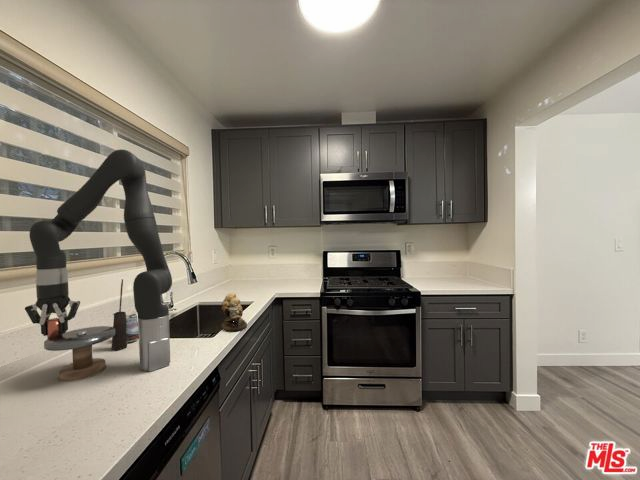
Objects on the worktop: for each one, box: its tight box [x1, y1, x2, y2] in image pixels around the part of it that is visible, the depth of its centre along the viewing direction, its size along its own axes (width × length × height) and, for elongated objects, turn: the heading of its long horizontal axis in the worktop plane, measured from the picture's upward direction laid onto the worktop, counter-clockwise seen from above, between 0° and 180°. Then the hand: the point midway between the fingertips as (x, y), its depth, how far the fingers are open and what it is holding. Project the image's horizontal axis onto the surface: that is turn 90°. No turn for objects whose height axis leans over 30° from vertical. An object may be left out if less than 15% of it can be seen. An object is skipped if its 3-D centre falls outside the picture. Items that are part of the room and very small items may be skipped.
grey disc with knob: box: [43, 317, 115, 352], centre depth 92 cm, size 18×18×8 cm
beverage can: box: [126, 312, 139, 343], centre depth 120 cm, size 6×7×12 cm
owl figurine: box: [221, 292, 248, 332], centre depth 136 cm, size 18×12×17 cm, turn 29°
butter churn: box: [110, 279, 128, 352], centre depth 111 cm, size 9×10×28 cm
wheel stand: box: [57, 345, 107, 382], centre depth 93 cm, size 12×12×11 cm
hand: (54, 333), depth 91 cm, fingers closed on grey disc with knob, 3 cm apart
